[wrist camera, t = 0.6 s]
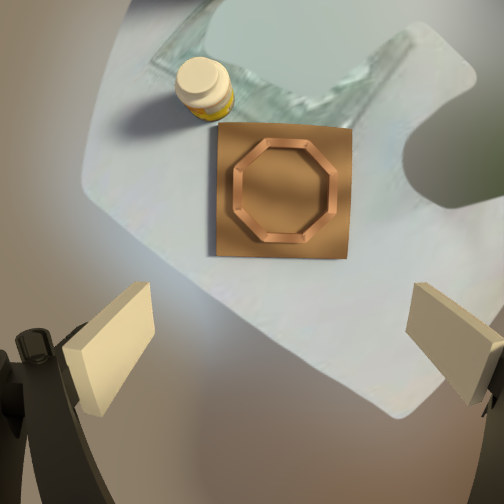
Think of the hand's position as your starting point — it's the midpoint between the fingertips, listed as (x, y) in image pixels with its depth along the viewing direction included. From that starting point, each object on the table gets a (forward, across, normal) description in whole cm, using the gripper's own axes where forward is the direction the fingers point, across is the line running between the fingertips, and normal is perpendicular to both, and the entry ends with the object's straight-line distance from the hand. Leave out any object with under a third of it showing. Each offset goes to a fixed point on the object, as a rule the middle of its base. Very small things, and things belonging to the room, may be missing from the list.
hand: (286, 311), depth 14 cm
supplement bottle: (+25, -7, +16) cm, 30 cm away
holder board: (+24, +2, +5) cm, 25 cm away
